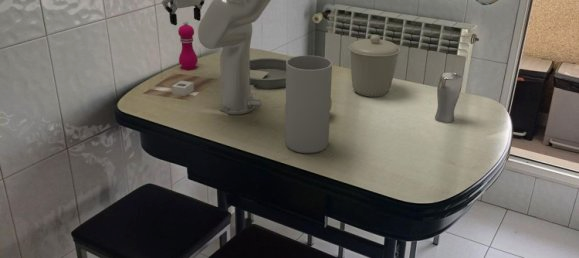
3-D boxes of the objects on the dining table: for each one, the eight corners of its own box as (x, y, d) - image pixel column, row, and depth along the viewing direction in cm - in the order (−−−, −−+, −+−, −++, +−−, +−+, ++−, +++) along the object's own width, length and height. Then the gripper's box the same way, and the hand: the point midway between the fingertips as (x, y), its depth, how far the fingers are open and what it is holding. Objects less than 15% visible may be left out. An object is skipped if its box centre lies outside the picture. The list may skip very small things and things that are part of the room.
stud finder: (194, 90, 190) (193, 82, 189) (185, 96, 185) (184, 88, 184) (181, 88, 192) (181, 80, 191) (172, 94, 187) (171, 85, 185)
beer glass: (440, 124, 171) (446, 80, 164) (429, 116, 177) (435, 72, 170) (459, 122, 172) (467, 78, 166) (448, 114, 178) (454, 71, 172)
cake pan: (255, 64, 222) (255, 54, 220) (310, 74, 212) (310, 63, 210) (222, 83, 202) (222, 72, 200) (281, 95, 192) (281, 83, 190)
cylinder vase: (329, 136, 162) (333, 56, 151) (326, 156, 151) (330, 71, 140) (288, 133, 164) (289, 54, 153) (282, 152, 152) (282, 68, 142)
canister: (335, 90, 196) (338, 33, 187) (368, 79, 207) (372, 25, 198) (373, 105, 184) (378, 45, 175) (406, 92, 195) (412, 36, 186)
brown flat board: (217, 82, 202) (217, 78, 201) (189, 104, 183) (189, 100, 182) (174, 76, 207) (174, 73, 206) (143, 97, 188) (142, 93, 187)
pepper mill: (200, 68, 216) (197, 19, 207) (195, 74, 209) (192, 23, 201) (182, 67, 217) (178, 18, 208) (177, 73, 210) (173, 23, 201)
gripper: (166, -23, 174) (170, 28, 181) (210, -29, 184) (212, 20, 192) (154, -27, 179) (158, 23, 186) (197, -32, 189) (200, 16, 197)
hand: (185, 22), depth 189 cm, fingers open, 9 cm apart
